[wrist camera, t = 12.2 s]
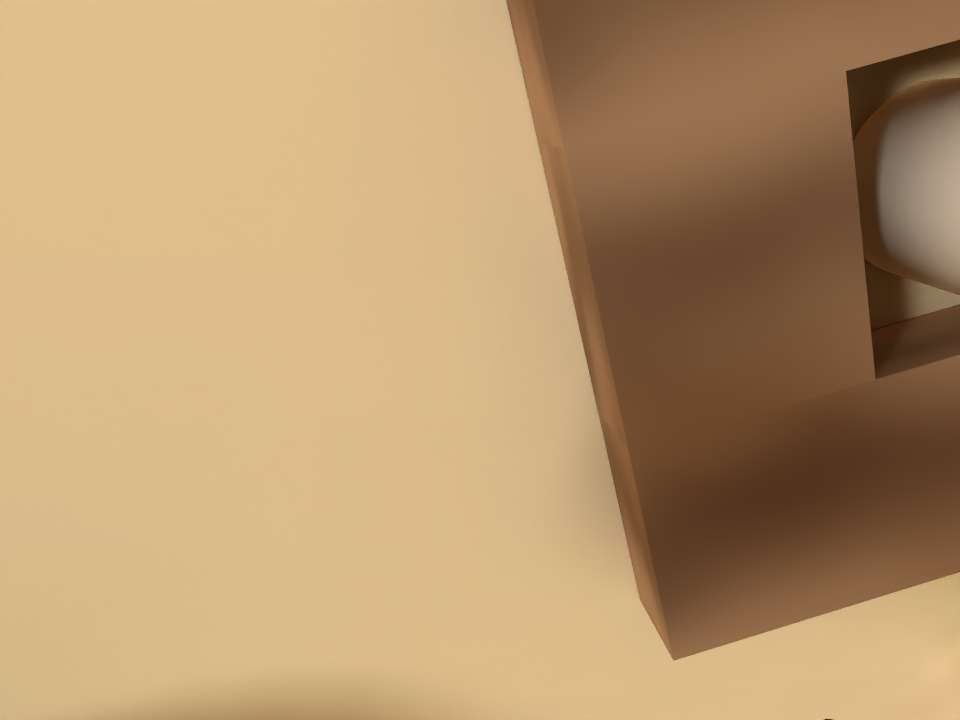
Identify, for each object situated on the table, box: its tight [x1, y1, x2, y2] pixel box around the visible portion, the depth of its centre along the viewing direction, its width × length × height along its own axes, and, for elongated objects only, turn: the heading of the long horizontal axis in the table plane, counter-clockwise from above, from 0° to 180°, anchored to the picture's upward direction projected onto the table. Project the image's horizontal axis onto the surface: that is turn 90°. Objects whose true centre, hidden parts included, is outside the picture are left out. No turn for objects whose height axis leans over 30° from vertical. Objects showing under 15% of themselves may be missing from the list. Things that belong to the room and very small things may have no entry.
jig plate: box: [506, 0, 960, 660], centre depth 18 cm, size 18×17×2 cm
